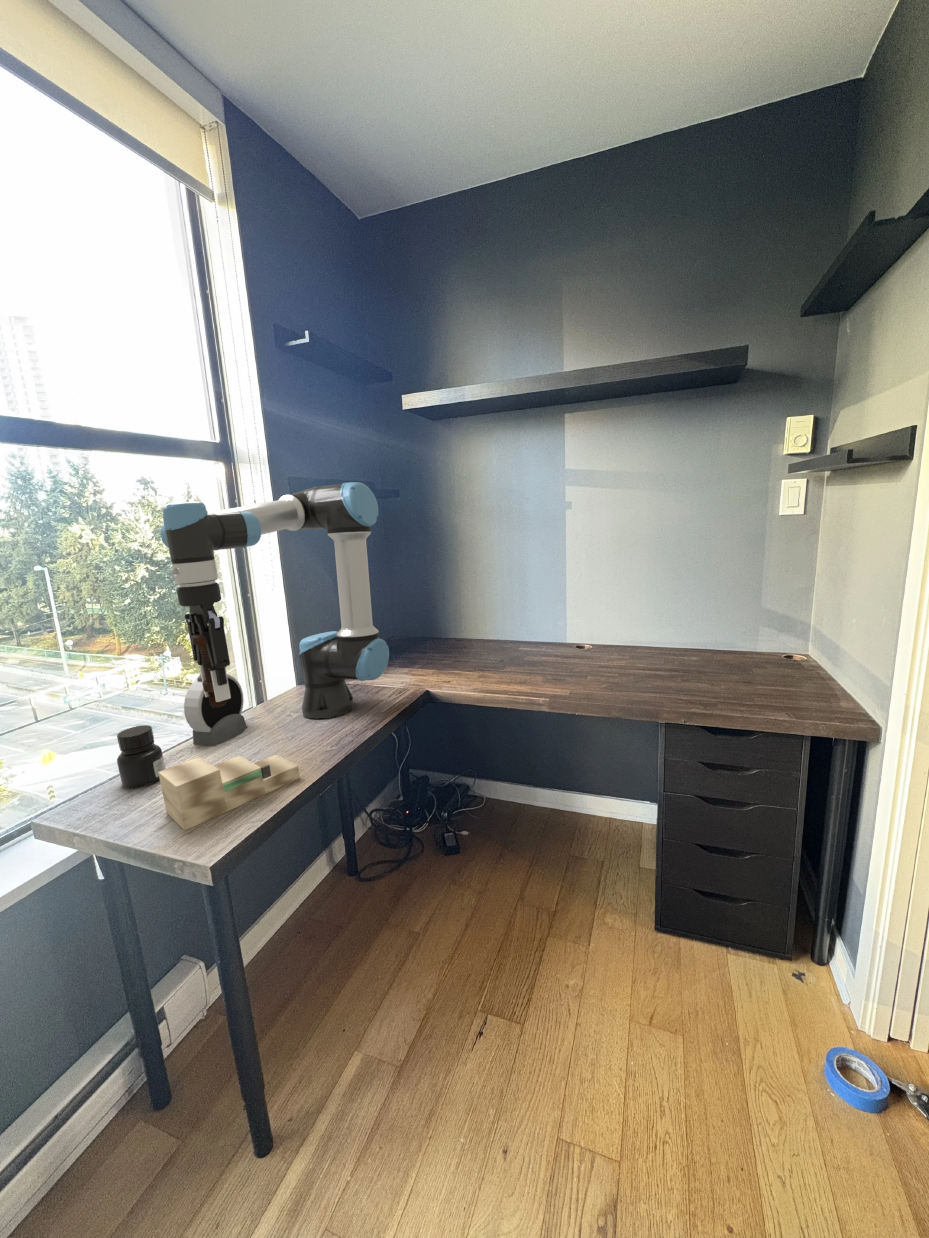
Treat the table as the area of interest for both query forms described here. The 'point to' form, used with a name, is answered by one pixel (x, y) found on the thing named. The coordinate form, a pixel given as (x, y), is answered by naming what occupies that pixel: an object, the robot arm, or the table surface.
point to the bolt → (206, 670)
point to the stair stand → (220, 786)
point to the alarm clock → (214, 714)
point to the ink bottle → (139, 757)
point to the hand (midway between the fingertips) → (217, 697)
